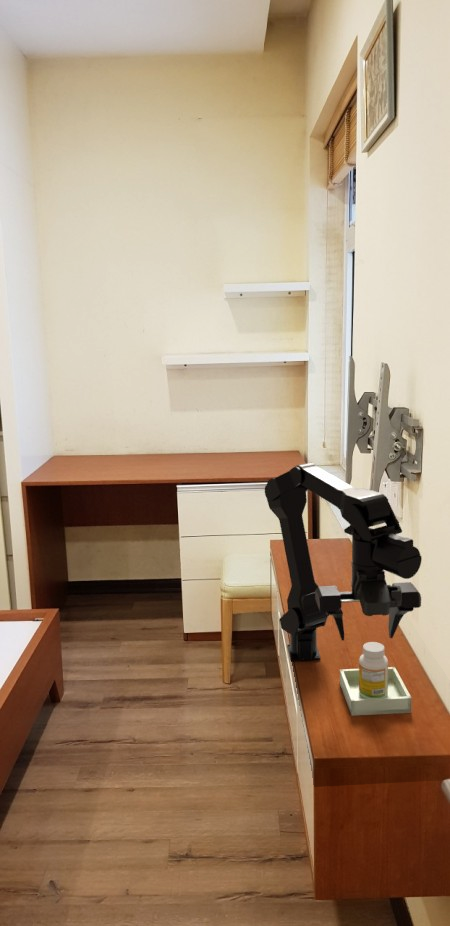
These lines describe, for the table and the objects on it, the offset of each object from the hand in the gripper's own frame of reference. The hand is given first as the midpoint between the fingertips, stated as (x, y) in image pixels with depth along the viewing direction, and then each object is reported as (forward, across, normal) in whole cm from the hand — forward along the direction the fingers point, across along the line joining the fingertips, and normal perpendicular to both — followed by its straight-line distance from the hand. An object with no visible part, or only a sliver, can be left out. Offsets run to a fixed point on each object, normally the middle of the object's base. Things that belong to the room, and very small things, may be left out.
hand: (366, 638), depth 126 cm
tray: (+12, +1, -1) cm, 12 cm away
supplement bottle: (+11, +1, -1) cm, 11 cm away
